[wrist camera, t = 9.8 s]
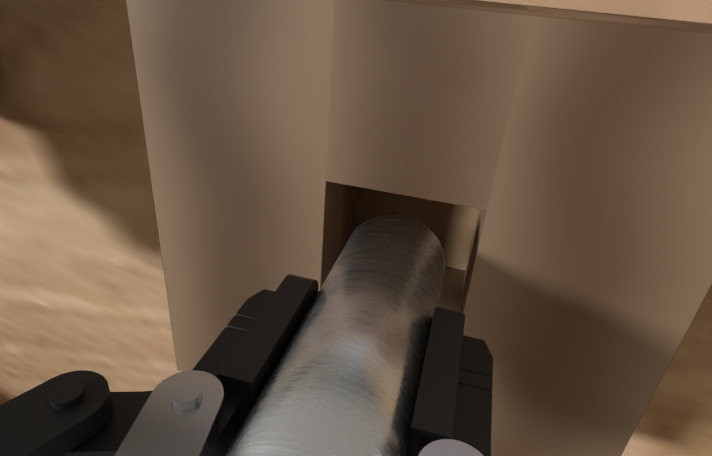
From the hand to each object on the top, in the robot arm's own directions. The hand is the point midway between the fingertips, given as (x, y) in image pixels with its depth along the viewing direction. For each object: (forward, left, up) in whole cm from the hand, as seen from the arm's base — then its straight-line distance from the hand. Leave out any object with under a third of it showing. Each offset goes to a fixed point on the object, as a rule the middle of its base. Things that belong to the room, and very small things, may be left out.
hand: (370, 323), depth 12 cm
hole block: (0, 0, -7) cm, 7 cm away
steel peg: (0, 0, -3) cm, 3 cm away
